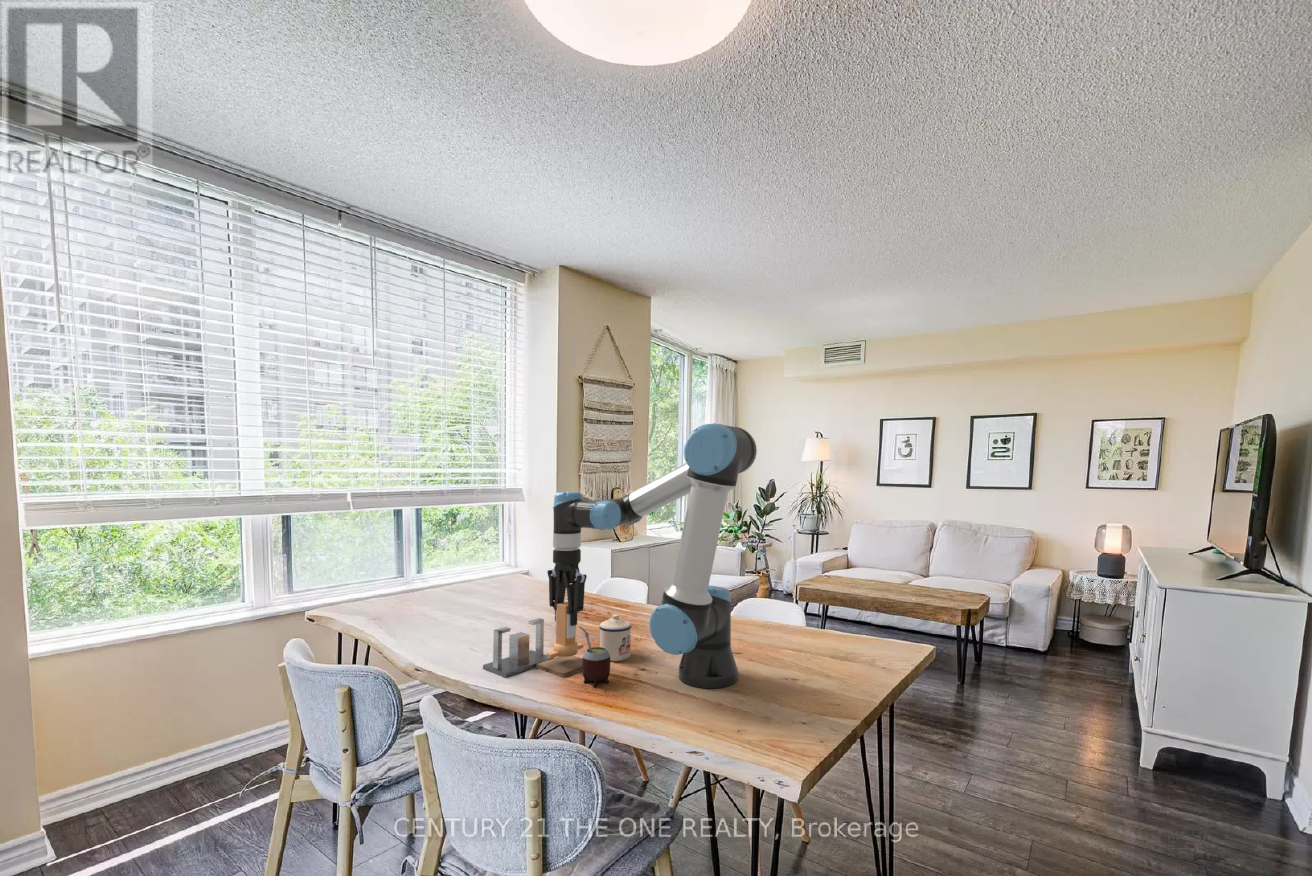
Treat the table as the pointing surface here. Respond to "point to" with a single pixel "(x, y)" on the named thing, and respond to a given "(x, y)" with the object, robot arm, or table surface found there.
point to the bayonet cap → (563, 635)
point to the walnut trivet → (562, 665)
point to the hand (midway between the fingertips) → (565, 635)
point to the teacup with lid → (616, 638)
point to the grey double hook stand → (517, 651)
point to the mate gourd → (595, 664)
